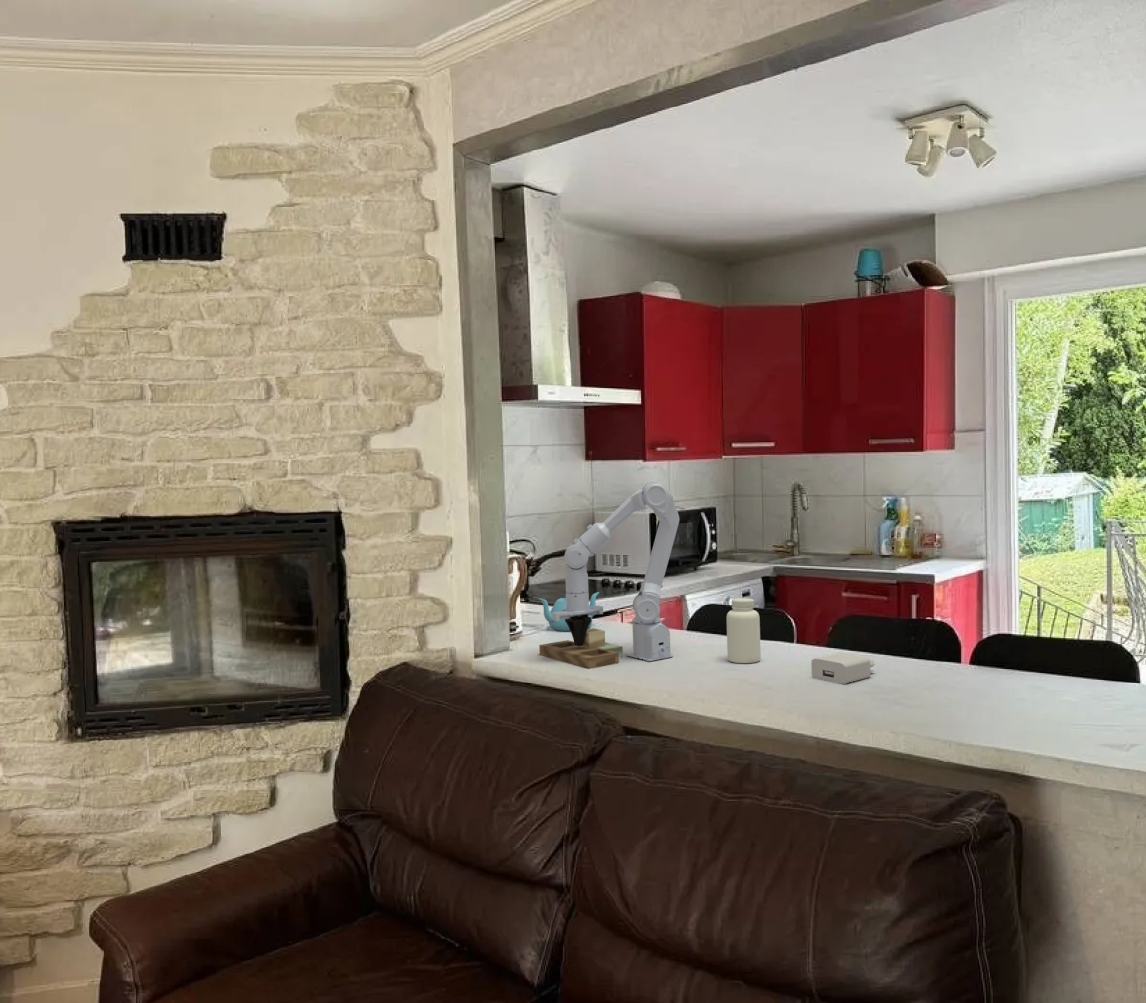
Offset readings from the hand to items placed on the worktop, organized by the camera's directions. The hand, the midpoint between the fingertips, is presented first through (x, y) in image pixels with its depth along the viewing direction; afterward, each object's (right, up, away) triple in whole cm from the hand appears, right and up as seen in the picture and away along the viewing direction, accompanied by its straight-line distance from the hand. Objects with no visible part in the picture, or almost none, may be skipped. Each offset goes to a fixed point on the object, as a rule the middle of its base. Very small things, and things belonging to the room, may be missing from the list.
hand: (579, 645), depth 240 cm
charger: (+61, -3, -27) cm, 66 cm away
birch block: (+3, -1, +2) cm, 4 cm away
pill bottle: (+40, -3, -8) cm, 41 cm away
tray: (+2, -3, +1) cm, 4 cm away
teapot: (-2, -2, +42) cm, 42 cm away
